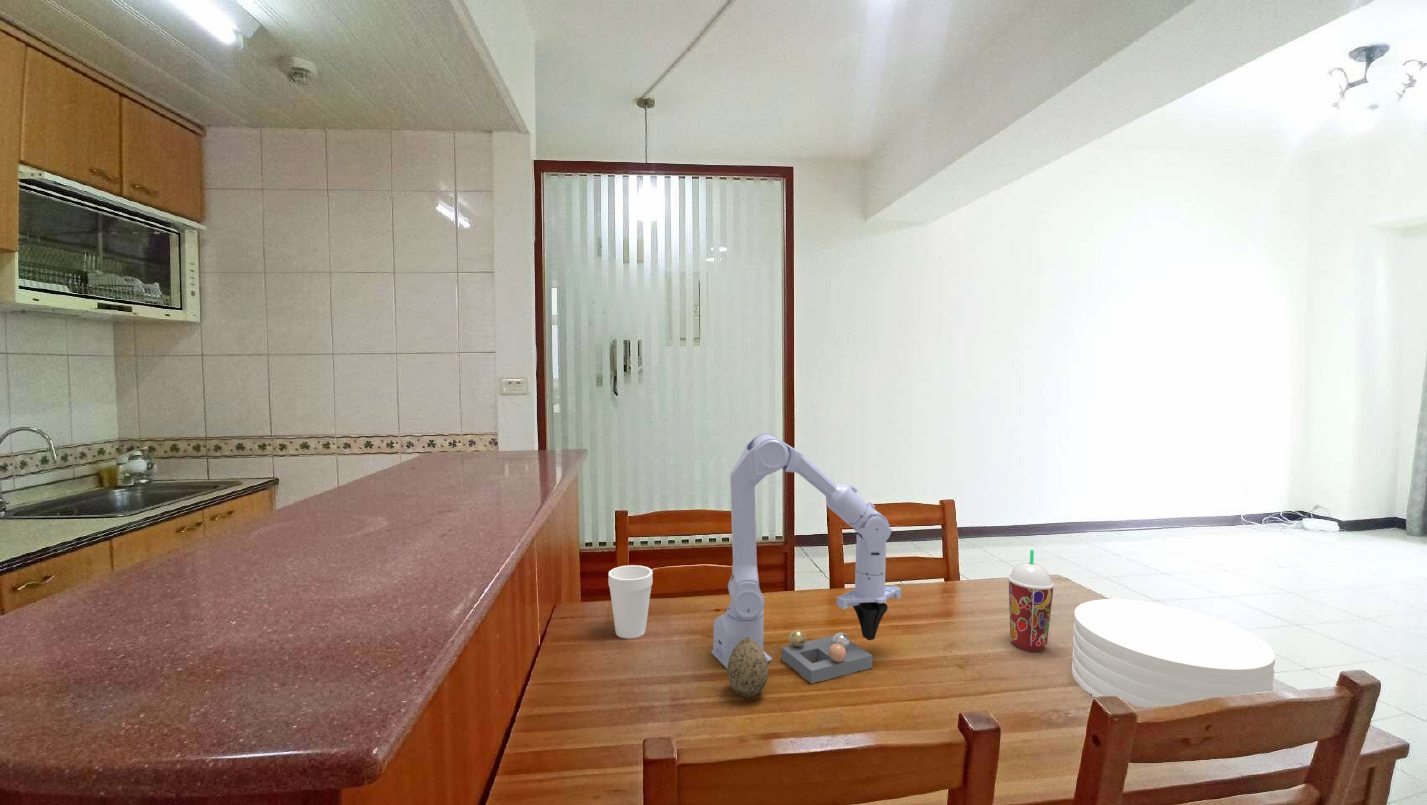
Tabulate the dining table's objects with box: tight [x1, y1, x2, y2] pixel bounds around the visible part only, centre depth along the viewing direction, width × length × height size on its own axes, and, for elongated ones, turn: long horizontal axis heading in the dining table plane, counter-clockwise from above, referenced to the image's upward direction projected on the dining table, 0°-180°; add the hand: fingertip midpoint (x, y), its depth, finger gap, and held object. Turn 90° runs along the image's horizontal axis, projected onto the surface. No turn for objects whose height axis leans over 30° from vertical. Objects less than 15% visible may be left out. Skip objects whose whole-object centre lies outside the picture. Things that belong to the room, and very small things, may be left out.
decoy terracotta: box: [829, 643, 846, 662], centre depth 111 cm, size 3×3×3 cm
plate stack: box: [1071, 598, 1276, 708], centre depth 106 cm, size 28×28×12 cm
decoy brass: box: [788, 629, 807, 647], centre depth 116 cm, size 3×3×3 cm
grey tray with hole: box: [780, 634, 874, 684], centre depth 114 cm, size 14×10×2 cm
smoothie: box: [1007, 549, 1055, 652], centre depth 123 cm, size 8×8×20 cm
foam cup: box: [608, 564, 654, 639], centre depth 127 cm, size 10×9×13 cm
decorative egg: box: [726, 638, 769, 698], centre depth 103 cm, size 7×7×10 cm
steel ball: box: [833, 632, 850, 649], centre depth 115 cm, size 3×3×3 cm
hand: (868, 637), depth 118 cm, fingers closed
